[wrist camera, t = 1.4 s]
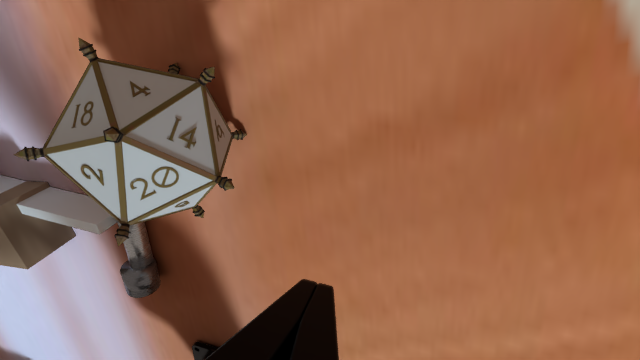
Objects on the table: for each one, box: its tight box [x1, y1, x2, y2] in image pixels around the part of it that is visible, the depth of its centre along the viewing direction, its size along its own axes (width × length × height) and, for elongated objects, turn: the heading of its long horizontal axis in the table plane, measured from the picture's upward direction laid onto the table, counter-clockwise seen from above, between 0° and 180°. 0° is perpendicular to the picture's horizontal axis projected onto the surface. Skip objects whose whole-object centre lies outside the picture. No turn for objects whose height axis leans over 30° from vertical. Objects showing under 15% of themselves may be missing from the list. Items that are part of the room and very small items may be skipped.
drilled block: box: [0, 181, 76, 269], centre depth 26 cm, size 5×5×4 cm
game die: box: [14, 38, 247, 246], centre depth 16 cm, size 9×8×10 cm
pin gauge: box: [117, 221, 161, 298], centre depth 25 cm, size 8×2×2 cm, turn 177°
